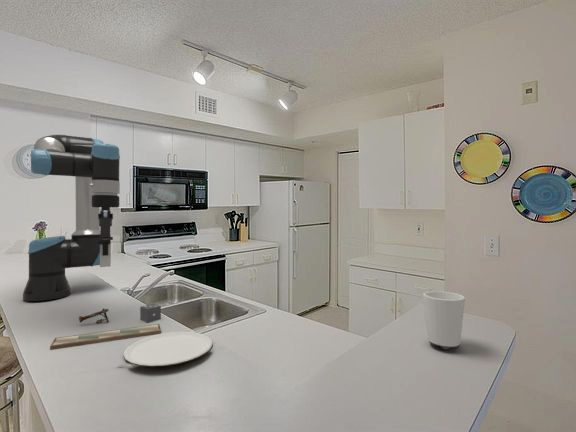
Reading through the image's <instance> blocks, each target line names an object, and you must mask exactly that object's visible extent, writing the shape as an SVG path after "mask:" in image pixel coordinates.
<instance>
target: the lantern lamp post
mask: <svg viewBox="0 0 576 432" xmlns="http://www.w3.org/2000/svg"><path fill="white" fill-rule="evenodd" d="M108 312H109V308H102V310H100V311H97V312H94V313H91V314H88V315H83V316H81V315H79V317H78V319H79V323H80V324H82V323H83V322H84V321H86V320H88V319H92V318H96V317H98V316H99V315H100V316H102V317H103V318H101V319H97V320H96V321H95V323H96V324H100V323H101V324H102V323H103V322H105V321H106V323H109V316H108V315H107V313H108Z"/></svg>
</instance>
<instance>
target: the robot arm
mask: <svg viewBox="0 0 576 432" xmlns="http://www.w3.org/2000/svg"><path fill="white" fill-rule="evenodd" d="M119 148H120V147H119V146H117V145H115V144H110V143H105V142H104V141H103V140H101V139H96V138H92V137H83V136H75V135H66V134H50V135H46V136H43V137H41V138H38V139H37V140H36V141H35V143H34V146H33V149H32V150H31V151H30V171H31V173H32V174H34V175H42V176H63V177H74V178H75V231H74V232H72V233H71V237H70V238H68V239H67V238H66V236H64V235H59V236H58V235H57V236H51V237H50V236H49V237H43V238H38V239H33V240H31V241H30V242H29V244H28V252H27V254H28V279H27V281H26V285H25V288H24V289H23V293H22V300H24V301H27V302H28V301H29V302H38V301H39V302H40V301H48V300H55V299H60V298H64V297H67V296H70V295H71V286H70V284H69V281H68V278H67V277H66V269H72V268H82V267H94V266H95V267H96V266H99V268H105V267H106V268H108V267H111V266H112V265H111V261H112V256H111V255H112V254H111V253H112V248H111V247H112V242H111V241H114V237H113V236H111V227H112V226H113V220H114V213H111V208H116V209H117V208H119V207H120V196H119V194H120V193H121V191H120V185H121V183H120V181H121V180H120V159H121V156H120V149H119Z"/></svg>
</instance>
